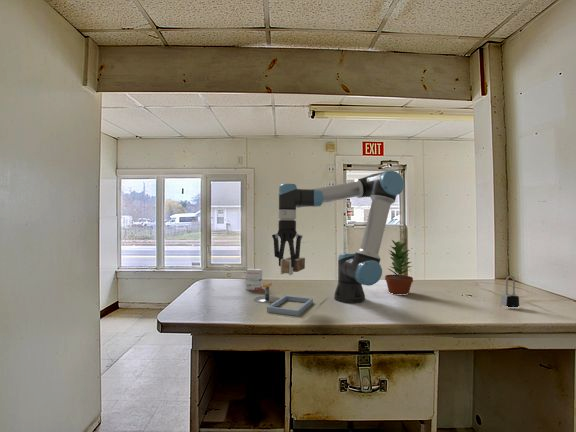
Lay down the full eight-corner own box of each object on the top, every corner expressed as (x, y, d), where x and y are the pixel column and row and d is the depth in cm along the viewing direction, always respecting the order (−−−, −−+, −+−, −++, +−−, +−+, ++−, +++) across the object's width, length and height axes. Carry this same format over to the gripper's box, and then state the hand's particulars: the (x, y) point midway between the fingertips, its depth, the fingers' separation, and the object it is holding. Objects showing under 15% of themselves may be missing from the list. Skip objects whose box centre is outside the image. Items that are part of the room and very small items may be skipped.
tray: (312, 304, 146) (313, 298, 146) (298, 318, 127) (298, 310, 127) (285, 301, 151) (285, 295, 151) (266, 313, 132) (266, 306, 132)
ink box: (262, 289, 175) (262, 268, 175) (260, 292, 170) (260, 270, 170) (247, 289, 176) (247, 268, 176) (245, 291, 171) (245, 269, 171)
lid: (284, 299, 155) (284, 282, 155) (274, 306, 143) (274, 287, 143) (260, 296, 159) (261, 279, 159) (248, 303, 147) (249, 285, 147)
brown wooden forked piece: (290, 267, 148) (290, 256, 149) (304, 268, 146) (304, 257, 146) (277, 272, 134) (277, 260, 134) (293, 273, 131) (293, 262, 131)
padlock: (513, 306, 148) (513, 275, 148) (520, 309, 144) (520, 276, 144) (499, 306, 148) (500, 274, 148) (506, 309, 143) (506, 276, 143)
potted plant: (418, 296, 164) (419, 239, 164) (389, 296, 164) (390, 239, 164) (408, 290, 179) (408, 237, 179) (381, 289, 179) (382, 237, 179)
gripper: (266, 219, 134) (265, 274, 134) (302, 220, 128) (301, 277, 128) (273, 219, 141) (273, 271, 141) (308, 219, 135) (307, 274, 135)
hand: (286, 274), depth 135 cm, fingers closed on brown wooden forked piece, 3 cm apart
